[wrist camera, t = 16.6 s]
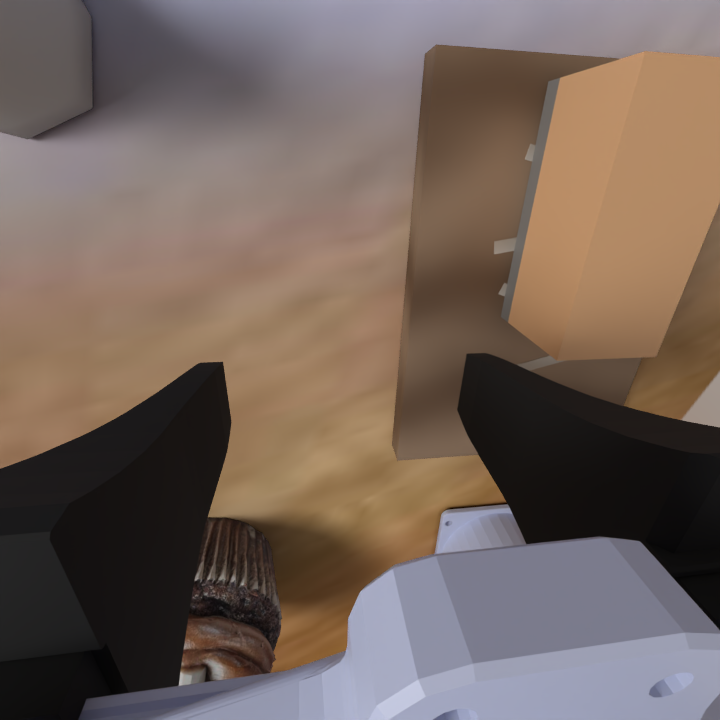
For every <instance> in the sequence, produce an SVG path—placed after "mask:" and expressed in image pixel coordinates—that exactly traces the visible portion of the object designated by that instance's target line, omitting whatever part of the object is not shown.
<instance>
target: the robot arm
mask: <svg viewBox="0 0 720 720" xmlns="http://www.w3.org/2000/svg"><path fill="white" fill-rule="evenodd" d="M457 411H458V413H459V416H460V418H461V421H462V424H463V426H464V428H465V431H466V433H467V435H468V437H469V439H470V441H471V443H472V444H473V446H474V448H475V449H476V451H477V453H478V455H479V456H480V458H481V460H482V461H483V463H484V465H485V466H486V468H487V469H488V471H489V473H490V474H491V476H492V478H493V479H494V481H495V483H496V484H497V486H498V488H499V489H500V491H501V493H502V494H503V496H504V498H505V500H506V502H507V504H505V505H494V506H483V507H472V508H460V509H449V510H446V511H444V512H443V513H442V515H441V520H440V526H439V532H438V538H437V543H436V549H435V554H431V555H428V556H424V557H421V558H417V559H413V560H410V561H406V562H403V563H399V564H396V565H394V566H392V567H391V568H390V569H388V570H387V571H385V572H384V573H383V574H381V575H380V576H379V577H377V578H376V579H374V580H373V581H372V582H370V583H369V584H368V585H366V586H365V587H364V588H363V589H362V590H361V592H360V593H359V596H358V598H357V600H356V602H355V605H354V607H353V609H352V611H351V614H350V616H349V618H348V645H347V649H346V651H344V652H341V653H338V654H335V655H332V656H329V657H326V658H323V659H320V660H317V661H314V662H311V663H308V664H305V665H302V666H300V667H297V668H294V669H291V670H288V671H281V672H274V673H267V674H260V675H253V676H246V677H238V678H231V679H224V680H217V681H210V682H203V683H196V684H188V685H181V686H179V680H180V672H181V664H182V657H183V651H184V644H185V637H186V630H187V624H188V617H189V610H190V604H191V599H192V593H193V587H194V581H195V575H196V569H197V564H198V558H199V553H200V547H201V542H202V537H203V532H204V528H205V524H206V520H207V517H208V513H209V510H210V507H211V504H212V500H213V497H214V494H215V490H216V487H217V484H218V481H219V477H220V474H221V471H222V467H223V464H224V460H225V457H226V453H227V449H228V442H229V436H230V429H231V416H230V409H229V402H228V395H227V388H226V381H225V373H224V366H223V362H208V363H199V364H197V365H196V366H194V367H193V368H191V369H190V370H188V371H187V372H185V373H184V374H183V375H181V376H180V377H178V378H177V379H176V380H174V381H173V382H171V383H170V384H169V385H167V386H166V387H164V388H163V389H162V390H160V391H159V392H157V393H156V394H154V395H153V396H151V397H150V398H148V399H147V400H145V401H143V402H142V403H140V404H139V405H137V406H136V407H134V408H132V409H131V410H129V411H128V412H126V413H124V414H123V415H121V416H119V417H117V418H116V419H114V420H112V421H110V422H108V423H107V424H105V425H103V426H101V427H99V428H97V429H95V430H93V431H91V432H89V433H87V434H85V435H83V436H81V437H78V438H76V439H74V440H71V441H69V442H67V443H65V444H62V445H60V446H58V447H55V448H53V449H51V450H48V451H46V452H44V453H42V454H39V455H37V456H34V457H31V458H29V459H26V460H23V461H21V462H18V463H15V464H13V465H10V466H7V467H4V468H1V469H0V720H720V428H718V427H714V426H708V425H702V424H697V423H691V422H686V421H682V420H677V419H672V418H668V417H663V416H659V415H655V414H651V413H647V412H643V411H639V410H635V409H632V408H628V407H625V406H621V405H618V404H615V403H612V402H609V401H605V400H602V399H599V398H596V397H593V396H590V395H587V394H585V393H582V392H579V391H577V390H574V389H572V388H569V387H567V386H564V385H562V384H559V383H557V382H554V381H552V380H550V379H547V378H545V377H543V376H540V375H538V374H536V373H534V372H531V371H529V370H527V369H525V368H523V367H520V366H518V365H516V364H514V363H511V362H509V361H507V360H504V359H502V358H499V357H497V356H494V355H491V354H488V353H470V354H466V360H465V366H464V372H463V378H462V384H461V390H460V396H459V402H458V408H457Z"/></svg>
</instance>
